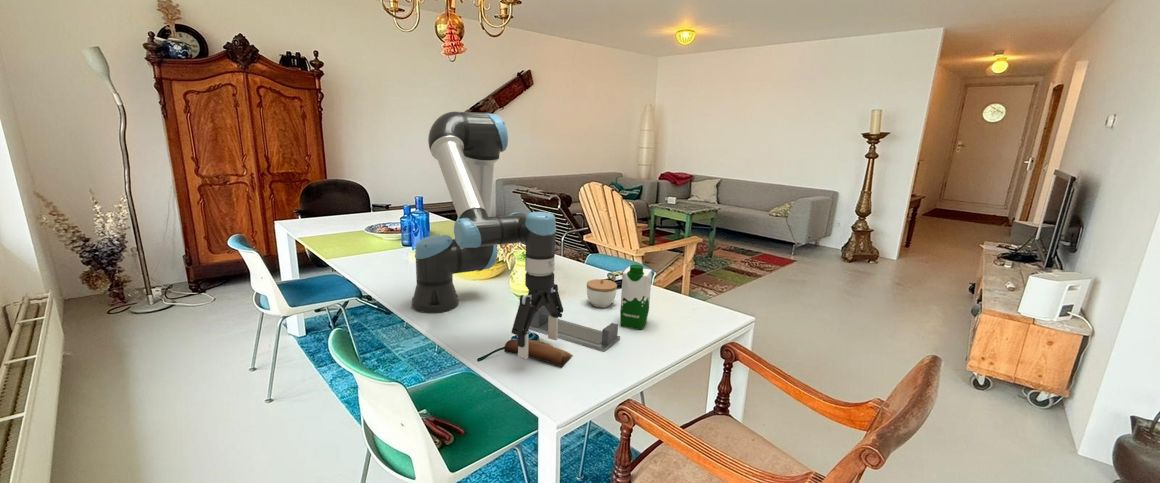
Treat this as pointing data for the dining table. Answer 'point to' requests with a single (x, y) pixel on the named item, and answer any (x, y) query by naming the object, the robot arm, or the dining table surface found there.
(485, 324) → the dining table surface
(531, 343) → the sunglasses case
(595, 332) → the motor mount
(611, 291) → the lidded jar
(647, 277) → the milk carton
